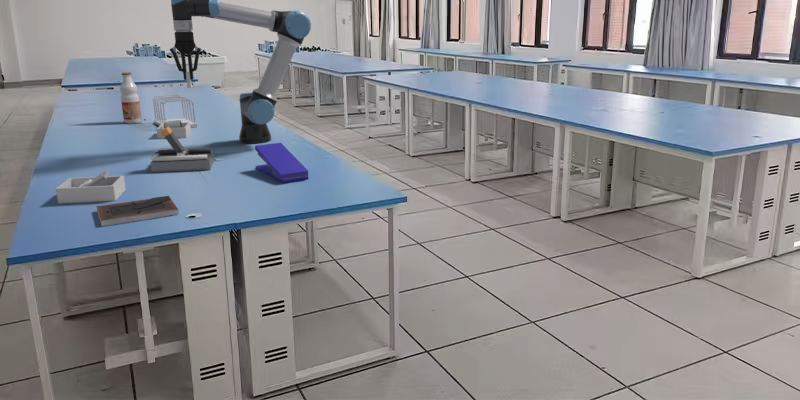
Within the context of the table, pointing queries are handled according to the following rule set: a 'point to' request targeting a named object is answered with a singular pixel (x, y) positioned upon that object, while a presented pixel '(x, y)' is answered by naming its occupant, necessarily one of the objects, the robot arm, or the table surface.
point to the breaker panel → (183, 163)
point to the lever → (172, 140)
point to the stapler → (280, 163)
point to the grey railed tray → (177, 158)
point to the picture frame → (136, 210)
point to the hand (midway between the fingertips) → (189, 87)
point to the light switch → (95, 180)
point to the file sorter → (183, 120)
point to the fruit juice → (130, 100)
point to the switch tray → (90, 190)
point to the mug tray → (176, 131)
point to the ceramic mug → (173, 124)
